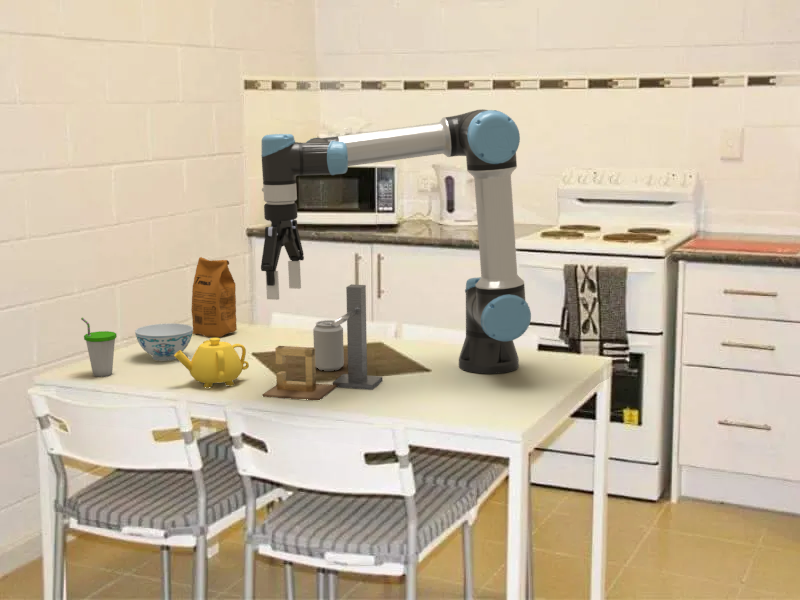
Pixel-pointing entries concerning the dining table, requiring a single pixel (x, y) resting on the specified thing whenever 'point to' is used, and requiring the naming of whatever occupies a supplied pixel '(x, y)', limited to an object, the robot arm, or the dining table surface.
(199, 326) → the coffee package
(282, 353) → the c link
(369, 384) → the stand
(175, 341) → the chinaware
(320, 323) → the can
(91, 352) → the cup
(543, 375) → the dining table surface
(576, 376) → the dining table surface
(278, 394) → the walnut board
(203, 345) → the teapot
